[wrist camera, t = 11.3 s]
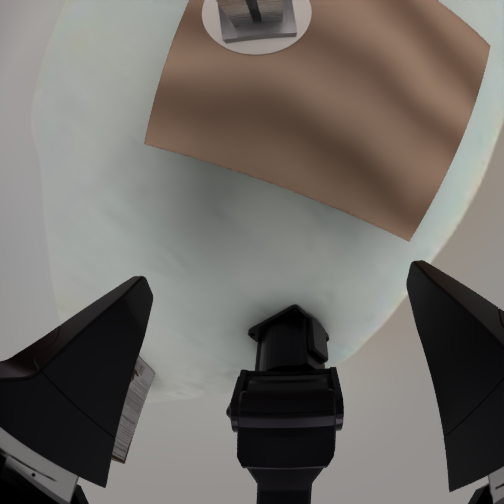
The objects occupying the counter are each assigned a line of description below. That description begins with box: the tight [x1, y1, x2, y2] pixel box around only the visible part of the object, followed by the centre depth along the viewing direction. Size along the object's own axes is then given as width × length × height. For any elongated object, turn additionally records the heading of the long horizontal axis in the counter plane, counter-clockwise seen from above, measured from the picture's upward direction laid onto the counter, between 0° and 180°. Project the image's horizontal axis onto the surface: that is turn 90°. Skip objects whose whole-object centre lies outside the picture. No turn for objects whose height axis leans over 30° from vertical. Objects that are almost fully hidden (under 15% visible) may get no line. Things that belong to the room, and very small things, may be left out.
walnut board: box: [144, 0, 490, 241], centre depth 14 cm, size 20×22×2 cm
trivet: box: [202, 0, 312, 55], centre depth 12 cm, size 7×7×1 cm
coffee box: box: [111, 356, 155, 464], centre depth 29 cm, size 9×6×16 cm
